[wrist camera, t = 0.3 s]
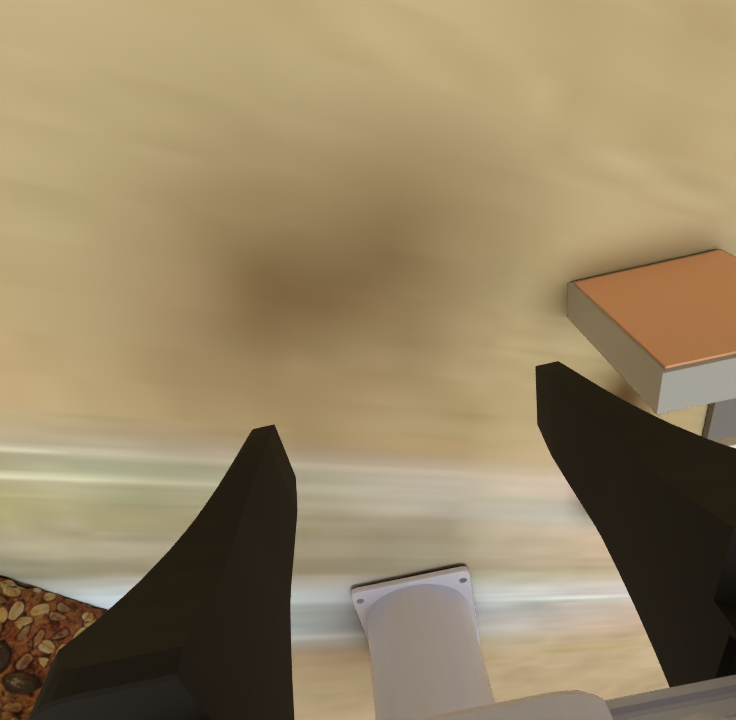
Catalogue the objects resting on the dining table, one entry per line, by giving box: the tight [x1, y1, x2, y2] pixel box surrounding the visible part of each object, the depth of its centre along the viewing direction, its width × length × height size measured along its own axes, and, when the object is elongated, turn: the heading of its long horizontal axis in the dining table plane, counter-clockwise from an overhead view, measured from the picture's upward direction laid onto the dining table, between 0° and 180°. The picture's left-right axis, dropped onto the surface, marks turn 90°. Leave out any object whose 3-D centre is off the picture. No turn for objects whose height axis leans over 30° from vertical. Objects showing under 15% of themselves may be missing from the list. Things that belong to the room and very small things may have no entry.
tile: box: [567, 249, 736, 415], centre depth 20 cm, size 2×7×8 cm, turn 101°
